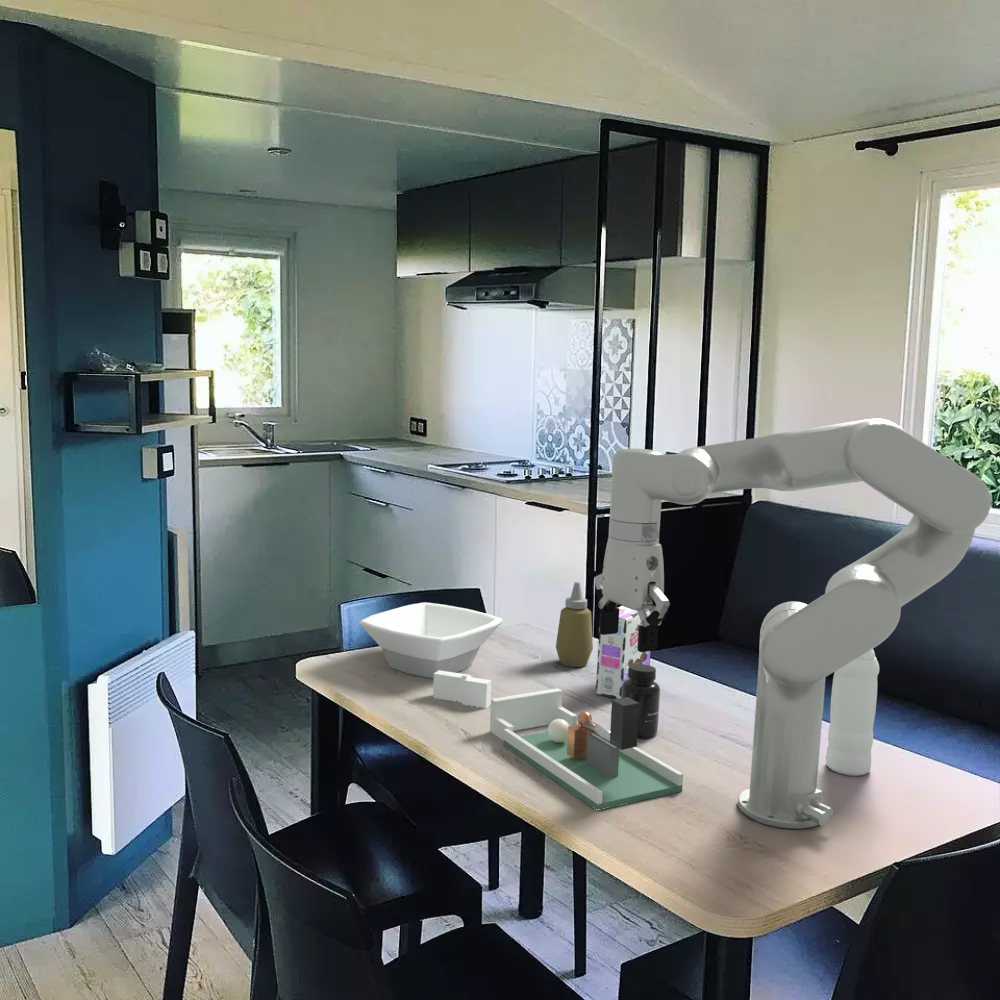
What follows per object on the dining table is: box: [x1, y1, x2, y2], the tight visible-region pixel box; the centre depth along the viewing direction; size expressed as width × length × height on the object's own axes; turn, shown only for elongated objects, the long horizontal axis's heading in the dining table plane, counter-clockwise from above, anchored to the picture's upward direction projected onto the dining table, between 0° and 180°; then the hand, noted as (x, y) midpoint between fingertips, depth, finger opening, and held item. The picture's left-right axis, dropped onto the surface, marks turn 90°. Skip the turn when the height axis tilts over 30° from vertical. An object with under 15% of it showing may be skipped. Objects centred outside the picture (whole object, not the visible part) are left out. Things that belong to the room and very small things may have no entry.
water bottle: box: [825, 648, 880, 777], centre depth 168 cm, size 7×7×25 cm
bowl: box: [359, 602, 504, 679], centre depth 217 cm, size 24×25×10 cm
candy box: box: [595, 605, 651, 699], centre depth 206 cm, size 14×6×16 cm, turn 148°
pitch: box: [489, 687, 684, 811], centre depth 169 cm, size 34×16×6 cm, turn 30°
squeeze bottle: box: [555, 581, 594, 668], centre depth 221 cm, size 8×8×18 cm
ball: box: [546, 719, 570, 743], centre depth 174 cm, size 4×4×4 cm
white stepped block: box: [432, 670, 492, 709], centre depth 195 cm, size 15×11×6 cm
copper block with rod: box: [567, 697, 639, 759], centre depth 163 cm, size 13×5×12 cm, turn 30°
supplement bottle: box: [621, 664, 661, 740], centre depth 182 cm, size 7×7×12 cm
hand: (627, 642), depth 156 cm, fingers open, 9 cm apart
